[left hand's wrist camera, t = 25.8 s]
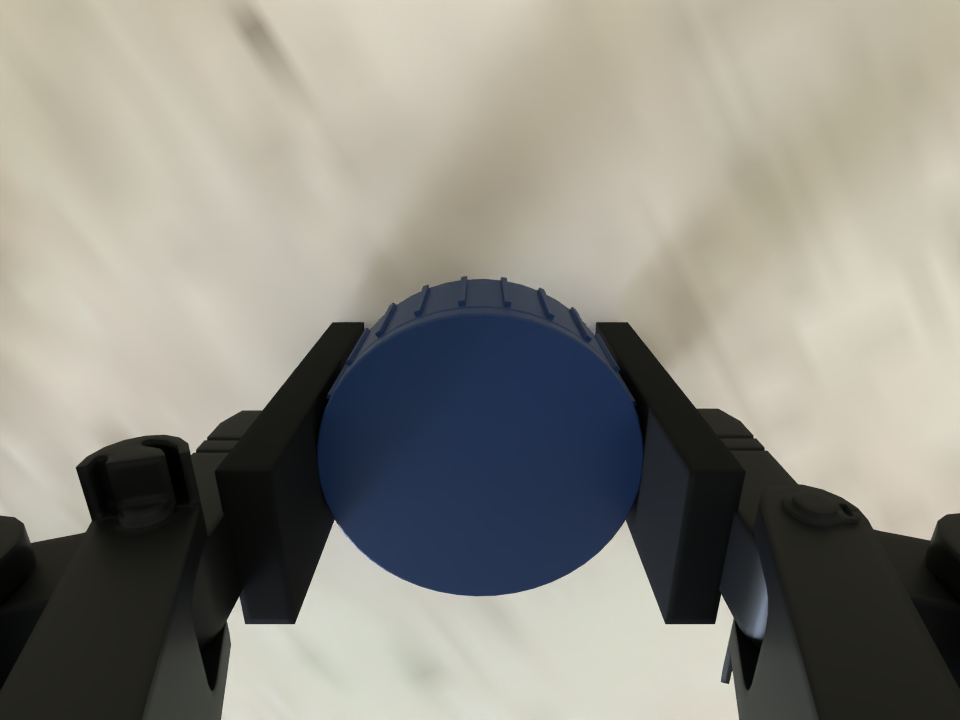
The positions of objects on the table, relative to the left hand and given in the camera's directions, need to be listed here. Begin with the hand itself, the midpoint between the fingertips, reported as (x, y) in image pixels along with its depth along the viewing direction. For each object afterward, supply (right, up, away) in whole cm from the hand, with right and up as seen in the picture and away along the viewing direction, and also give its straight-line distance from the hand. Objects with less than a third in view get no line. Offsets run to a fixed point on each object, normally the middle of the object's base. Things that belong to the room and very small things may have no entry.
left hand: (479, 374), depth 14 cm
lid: (0, -1, -4) cm, 4 cm away
